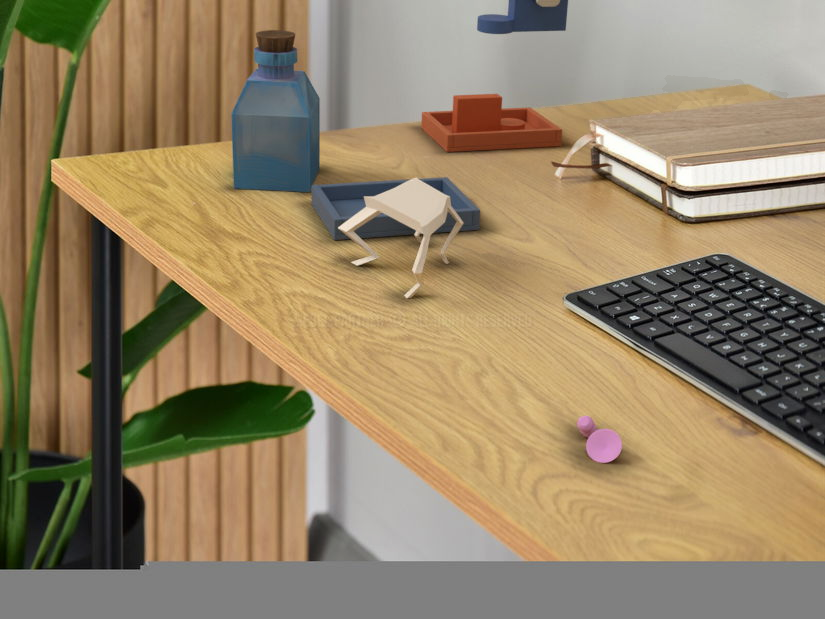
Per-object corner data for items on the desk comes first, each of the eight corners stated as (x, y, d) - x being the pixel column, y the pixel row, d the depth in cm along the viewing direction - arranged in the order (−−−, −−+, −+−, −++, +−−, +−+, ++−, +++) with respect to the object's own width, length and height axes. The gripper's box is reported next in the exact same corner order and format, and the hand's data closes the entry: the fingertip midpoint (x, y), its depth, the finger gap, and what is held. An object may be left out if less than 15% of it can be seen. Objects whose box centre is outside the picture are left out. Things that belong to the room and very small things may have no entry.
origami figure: (326, 246, 86) (326, 180, 84) (436, 236, 89) (439, 172, 87) (374, 312, 76) (376, 239, 74) (497, 299, 79) (502, 228, 77)
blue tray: (446, 195, 98) (447, 176, 97) (479, 230, 91) (480, 209, 90) (311, 204, 95) (311, 184, 94) (334, 240, 88) (334, 219, 87)
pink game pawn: (606, 479, 62) (634, 458, 62) (600, 469, 60) (629, 447, 60) (571, 436, 63) (598, 416, 63) (565, 426, 62) (593, 405, 62)
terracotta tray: (529, 123, 119) (530, 107, 119) (561, 146, 112) (562, 129, 111) (421, 128, 116) (421, 111, 116) (446, 152, 109) (447, 135, 108)
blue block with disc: (555, 25, 96) (559, -21, 94) (569, 32, 93) (573, -15, 92) (472, 27, 94) (474, -20, 92) (483, 34, 91) (486, -14, 90)
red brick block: (458, 138, 112) (460, 100, 110) (449, 130, 114) (450, 93, 113) (528, 135, 114) (531, 97, 112) (518, 127, 116) (520, 90, 115)
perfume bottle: (319, 169, 103) (319, 28, 98) (309, 192, 97) (308, 43, 93) (248, 165, 103) (244, 25, 99) (233, 188, 98) (229, 39, 93)
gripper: (656, -186, 79) (634, 26, 85) (541, -196, 97) (529, -20, 103) (567, -188, 77) (551, 29, 83) (467, -198, 95) (459, -19, 101)
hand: (538, 2), depth 93 cm, fingers closed on blue block with disc
